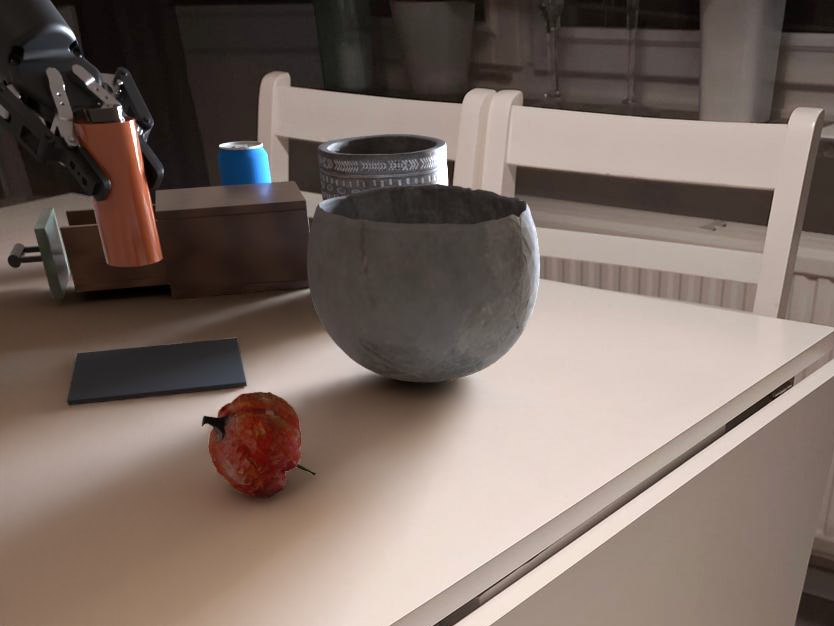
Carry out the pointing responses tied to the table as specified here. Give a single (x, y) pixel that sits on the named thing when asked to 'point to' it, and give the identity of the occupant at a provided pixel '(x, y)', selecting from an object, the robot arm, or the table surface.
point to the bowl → (423, 278)
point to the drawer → (82, 256)
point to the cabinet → (234, 238)
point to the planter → (380, 163)
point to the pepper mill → (120, 187)
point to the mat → (156, 370)
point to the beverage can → (243, 163)
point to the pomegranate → (255, 443)
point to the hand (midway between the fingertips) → (132, 187)
